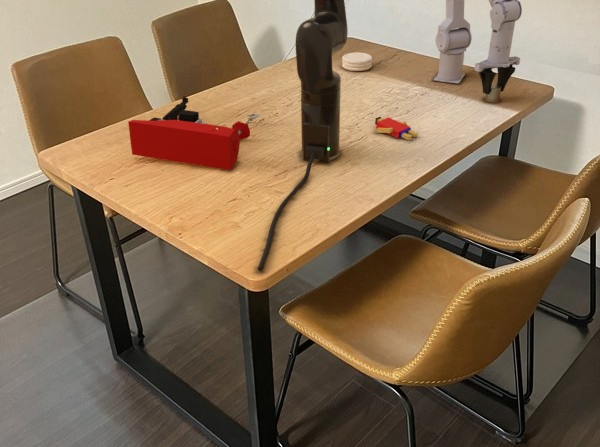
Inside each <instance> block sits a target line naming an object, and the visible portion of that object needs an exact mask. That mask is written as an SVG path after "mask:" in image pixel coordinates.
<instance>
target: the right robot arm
mask: <svg viewBox="0 0 600 447" xmlns="http://www.w3.org/2000/svg"><path fill="white" fill-rule="evenodd" d="M488 3H489V5H490V8H491V9H490V10H489V18H490V22H491V24H490V27H491V36H490V41H489V47H488V48H489V49H488V55H487V59H484V60H482V61H480V62H476V63H474V71H475V72H477V73H478V75H479V77H480V81H481V85H482V93H483V94H485V95H486V94H487V95H488V94H490V91H491V86H492V84H493V83H494V79H495V77H496V75H497V80H496V84H497V85H500V86H501V92H500V93H502V92H504V90H505V89H506V86H507V83H508V82H509V80H510V78H511V77H512V76H513V75H514V73H515V72H516V67H515V66H519V65H520V62H521V57H519V56H516V55H515V56H511V49H512V43H513V37H514V32H515V26H516V22H517V21H519V19H521V16H522V13H523V8H522V3H521V2H520V0H488ZM472 38H473V37H472V32H471V24H470V23H469V22H468V21H467V20H466V19H465V0H445V19H444V20H443V21H442V22H441V23H440V24H439V25H438V26H437V33H436V37H435V46H436V48H437V50H438V52H439V60H438V69H437V74H436V76H435V77H434V78H433V81H434V82H441V83H449V84H457V85H458V84H460V83H461V81H462V80H463V79H464V77H465V75H466V73H464V72H463V68H464V61H465V53H466V52H467V48H469V47H470V45H471V43H472ZM493 69H496V70H497V73H496V72H494V70H493Z"/></svg>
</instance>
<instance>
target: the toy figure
mask: <svg viewBox="0 0 600 447" xmlns="http://www.w3.org/2000/svg"><path fill="white" fill-rule="evenodd" d="M374 125H375V129H376V130H375V131H376V133H377V134H378V133H379V134H388V135H390V136H392V137H394V138H396V139H399V138H400V139H402V138H403V139H405V140H408V141H410V140H412V137H413V138H416V137H418V132H417V131H415V130H413V129H412V127H411V126H410V125H408V124H407V121H398V120H395V119H393V118H391V117H389V116H388V117H386V118H383V117H382V116H377V117H375V121H374Z"/></svg>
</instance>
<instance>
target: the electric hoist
mask: <svg viewBox="0 0 600 447" xmlns="http://www.w3.org/2000/svg"><path fill="white" fill-rule="evenodd" d="M179 100H180V101H179V102H180V103H177V104H176V105H175V106H174V107H173V108H172V109H171V110H169V111H168V112H167V113H166V114H165V115H164V116H162V118H161V117H155V116H154V117H152V118H151V119H149V120H147V119H146V120H145V119H144V120H142V119H131V120H129V121H128V123H127V125H128V131H129V139H130V147H131V148H130V149H131V155H132V156H139V157H145V158H152V159H157V160H164V161H169V162H176V163H183V164H187V165H193V166H201V167H206V168H212V169H219V170H225V171H231V170H232V169H233V168H234V166H235V165H236V163H238V158H239V152H240V144H241V140H245V139H248V138H249V137H250V136H251V130H250V126H249V124H251V122H253V121H254V120H255V119H258V118H259V117H260V114H257V113H255V112H254V113H250V114H248V115H247V117H249V118H247V121H246V122H242V121H236V122H235V123H233V124H232V125H231V127H228V126H222V125H216V124H209V123H207V122H204V121H203V119H202V118H200V116H199V115H200V113H199V111H194V110H187V108H188V106H187V104H188V103H189V98H188V97H187V96H183V97H182V98H180V99H179Z"/></svg>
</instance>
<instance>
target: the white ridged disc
mask: <svg viewBox="0 0 600 447" xmlns="http://www.w3.org/2000/svg"><path fill="white" fill-rule="evenodd" d="M341 60H342V61H341V66H342V68H343V69H345V70H347V71H349V72H350V71H351V72H363V71H368V70H370V69H371V68H372V67H373V56H372V55H371V54H369V53H365V52H347V53H345V54H344V55H343V56H342V57H341Z"/></svg>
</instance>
